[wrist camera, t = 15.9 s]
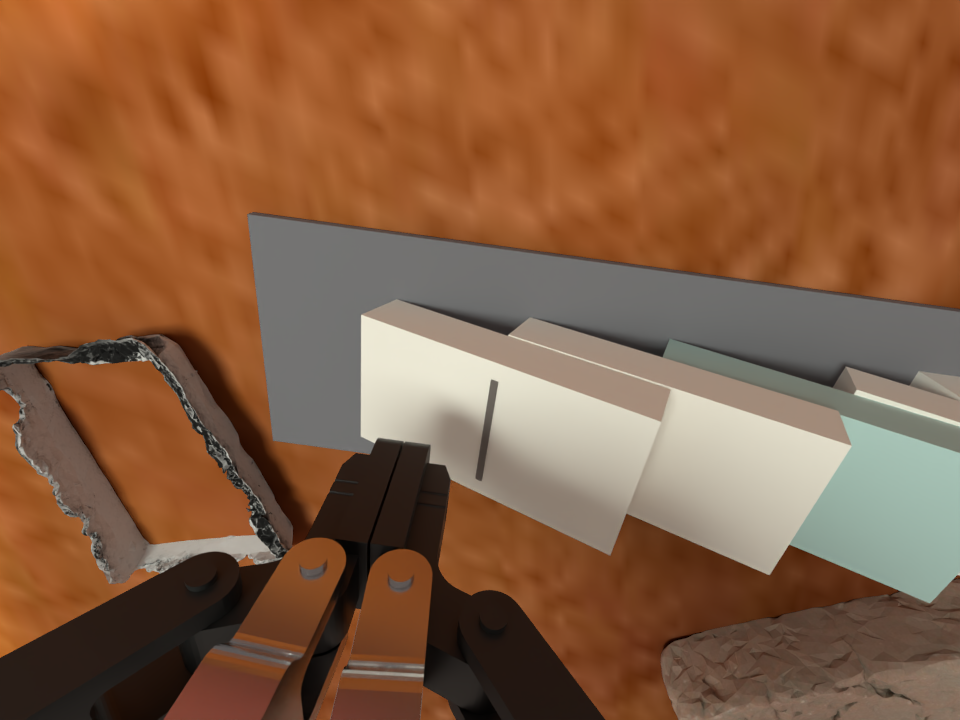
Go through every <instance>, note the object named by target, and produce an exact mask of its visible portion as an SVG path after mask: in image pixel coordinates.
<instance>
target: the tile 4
mask: <svg viewBox="0 0 960 720" xmlns="http://www.w3.org/2000/svg"><path fill="white" fill-rule="evenodd" d="M833 388H834V389H838V390H841V391H844V392H848V393H851V394H854V395H857V396H861V397H864V398H867V399H871V400H874V401H877V402H880V403H884V404H887V405H890V406H894V407H897V408H900V409H904V410H907V411H910V412H913V413H917V414H920V415H923V416H927V417H930V418H933V419H937V420H940V421H943V422H946V423H950V424H953V425H956V426H960V401H957V400H954V399H951V398H947V397H944V396H941V395H938V394H934V393H931V392H928V391H924V390H921V389H918V388H915V387H911V386H908V385H905V384H902V383H898V382H895V381H892V380H888V379H885V378H882V377H879V376H875V375H872V374H869V373H866V372H862V371H859V370H856V369H852V368H849V367H845V369H844V370H843V372H842V373H841V375H840V377H839V378H838V380H837V381H836V383H835V385H834V386H833ZM958 575H959V576H960V573H959V574H958Z"/></svg>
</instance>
